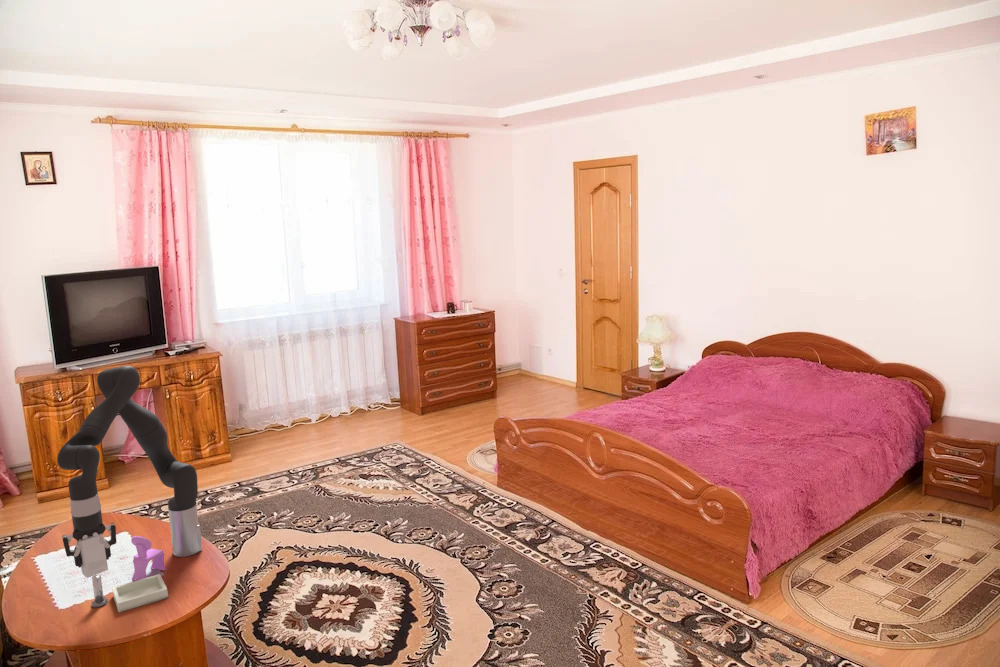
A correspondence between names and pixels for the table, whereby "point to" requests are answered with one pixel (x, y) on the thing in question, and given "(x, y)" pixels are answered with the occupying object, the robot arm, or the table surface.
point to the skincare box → (92, 556)
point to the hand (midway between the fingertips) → (93, 562)
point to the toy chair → (146, 557)
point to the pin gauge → (98, 592)
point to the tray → (139, 593)
